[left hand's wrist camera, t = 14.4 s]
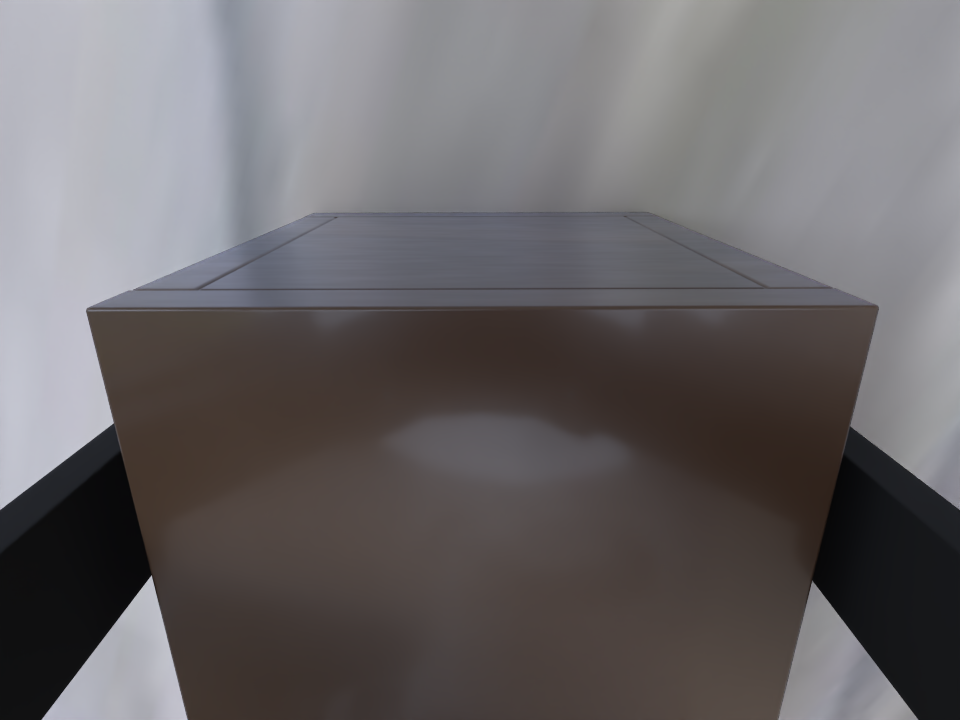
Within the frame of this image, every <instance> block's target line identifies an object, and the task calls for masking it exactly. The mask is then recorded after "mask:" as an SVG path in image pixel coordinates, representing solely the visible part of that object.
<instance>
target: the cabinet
mask: <svg viewBox="0 0 960 720" xmlns="http://www.w3.org/2000/svg"><path fill="white" fill-rule="evenodd" d="M878 310H879V308H878V306H877V305H875V304H872V303H870V302H867V301H865V300H862V299H860V298H858V297H855V296H853V295H850V294H848V293H845V292H843V291H840V290H838V289H833V288H832V287H829V286H827V285H825V284H822V283H820V282H817V281H815V280H812V279H810V278H807V277H805V276H803V275H800V274H798V273H795V272H793V271H790V270H788V269H785V268H783V267H781V266H778V265H776V264H773V263H771V262H768V261H766V260H763V259H761V258H759V257H756V256H754V255H751V254H749V253H746V252H744V251H741V250H739V249H737V248H734V247H732V246H729V245H727V244H724V243H722V242H719V241H717V240H715V239H712V238H710V237H707V236H705V235H702V234H700V233H697V232H695V231H693V230H690V229H688V228H685V227H683V226H680V225H678V224H675V223H673V222H671V221H668V220H666V219H663V218H661V217H658V216H656V215H654V214H651V213H649V212H566V213H313V214H311V215H308V216H306V217H304V218H302V219H300V220H297V221H295V222H293V223H290V224H288V225H285V226H283V227H281V228H278V229H276V230H274V231H271V232H269V233H267V234H264V235H262V236H259V237H257V238H255V239H252V240H250V241H248V242H245V243H243V244H241V245H238V246H236V247H233V248H231V249H229V250H226V251H224V252H222V253H219V254H217V255H214V256H212V257H210V258H207V259H205V260H203V261H200V262H198V263H196V264H193V265H191V266H188V267H186V268H184V269H181V270H179V271H177V272H174V273H172V274H170V275H167V276H165V277H162V278H160V279H158V280H155V281H153V282H151V283H148V284H146V285H144V286H141V287H139V288H136V289H134V290H133V291H127V292H124V293H122V294H120V295H117V296H115V297H112V298H110V299H108V300H105V301H103V302H100V303H98V304H96V305H93V306H91V307H89V308H87V310H86V312H87V316H88V320H89V324H90V328H91V332H92V336H93V340H94V344H95V349H96V353H97V357H98V361H99V365H100V369H101V373H102V377H103V381H104V385H105V389H106V393H107V397H108V401H109V405H110V409H111V413H112V417H113V421H114V425H115V429H116V433H117V437H118V441H119V445H120V449H121V453H122V457H123V461H124V465H125V469H126V473H127V477H128V481H129V485H130V489H131V493H132V497H133V501H134V505H135V510H136V514H137V518H138V522H139V526H140V530H141V534H142V538H143V542H144V546H145V550H146V554H147V558H148V562H149V566H150V570H151V574H152V578H153V582H154V586H155V590H156V594H157V598H158V602H159V606H160V610H161V614H162V618H163V622H164V626H165V630H166V634H167V638H168V642H169V646H170V650H171V654H172V658H173V662H174V667H175V671H176V675H177V679H178V683H179V687H180V691H181V695H182V699H183V703H184V707H185V711H186V715H187V719H188V720H778V718H779V713H780V709H781V705H782V701H783V697H784V693H785V689H786V685H787V681H788V677H789V673H790V669H791V665H792V661H793V656H794V652H795V648H796V644H797V640H798V636H799V632H800V628H801V624H802V620H803V616H804V612H805V608H806V603H807V599H808V595H809V591H810V587H811V583H812V579H813V575H814V571H815V567H816V563H817V559H818V555H819V550H820V546H821V542H822V538H823V534H824V530H825V526H826V522H827V518H828V514H829V510H830V506H831V502H832V498H833V493H834V489H835V485H836V481H837V477H838V473H839V469H840V465H841V461H842V457H843V453H844V449H845V445H846V440H847V436H848V432H849V428H850V424H851V420H852V416H853V412H854V408H855V404H856V400H857V396H858V392H859V388H860V383H861V379H862V375H863V371H864V367H865V363H866V359H867V355H868V351H869V347H870V343H871V339H872V335H873V330H874V326H875V322H876V318H877V314H878Z"/></svg>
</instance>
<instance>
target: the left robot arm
mask: <svg viewBox="0 0 960 720" xmlns="http://www.w3.org/2000/svg"><path fill="white" fill-rule="evenodd" d="M151 575H152V574H151V570H150V566H149V562H148V558H147V554H146V550H145V546H144V542H143V538H142V534H141V530H140V526H139V522H138V518H137V514H136V510H135V505H134V501H133V497H132V493H131V489H130V485H129V481H128V477H127V473H126V469H125V465H124V461H123V457H122V453H121V449H120V445H119V441H118V437H117V433H116V429H115V425H114V424H112V425H111V426H110V427H109V428H107V429H106V430H105V431H103V432H102V433H101V434H99V435H98V436H97V437H95V438H94V439H93V440H92V441H90V442H89V443H88V444H86V445H85V446H84V447H82V448H81V449H80V450H78V451H77V452H76V453H74V454H73V455H72V456H71V457H69V458H68V459H67V460H65V461H64V462H63V463H61V464H60V465H59V466H57V467H56V468H55V469H53V470H52V471H51V472H50V473H48V474H47V475H46V476H44V477H43V478H42V479H40V480H39V481H38V482H36V483H35V484H34V485H33V486H31V487H30V488H29V489H27V490H26V491H25V492H23V493H22V494H21V495H19V496H18V497H17V498H15V499H14V500H13V501H12V502H10V503H9V504H8V505H6V506H5V507H4V508H2V509H1V510H0V720H42V718H43V717H44V716H45V714H46V713H47V712H48V710H49V709H50V708H51V706H52V705H53V704H54V703H55V701H56V700H57V699H58V697H59V696H60V695H61V693H62V692H63V691H64V689H65V688H66V687H67V685H68V684H69V683H70V682H71V680H72V679H73V678H74V676H75V675H76V674H77V672H78V671H79V670H80V668H81V667H82V666H83V664H84V663H85V662H86V661H87V659H88V658H89V657H90V655H91V654H92V653H93V651H94V650H95V649H96V647H97V646H98V645H99V643H100V642H101V641H102V640H103V638H104V637H105V636H106V634H107V633H108V632H109V630H110V629H111V628H112V626H113V625H114V624H115V622H116V621H117V620H118V619H119V617H120V616H121V615H122V613H123V612H124V611H125V609H126V608H127V607H128V605H129V604H130V603H131V601H132V600H133V599H134V598H135V596H136V595H137V594H138V592H139V591H140V590H141V588H142V587H143V586H144V584H145V583H146V582H147V580H148V579H149V578H150V577H151ZM812 580H813V582H814V583H815V584H816V586H817V587H818V588H819V590H820V591H821V592H822V594H823V595H824V596H825V598H826V599H827V600H828V601H829V603H830V604H831V605H832V607H833V608H834V609H835V611H836V612H837V613H838V615H839V616H840V617H841V619H842V620H843V621H844V622H845V624H846V625H847V626H848V628H849V629H850V630H851V632H852V633H853V634H854V636H855V637H856V638H857V640H858V641H859V642H860V643H861V645H862V646H863V647H864V649H865V650H866V651H867V653H868V654H869V655H870V657H871V658H872V659H873V661H874V662H875V663H876V664H877V666H878V667H879V668H880V670H881V671H882V672H883V674H884V675H885V676H886V678H887V679H888V680H889V682H890V683H891V684H892V685H893V687H894V688H895V689H896V691H897V692H898V693H899V695H900V696H901V697H902V699H903V700H904V701H905V703H906V704H907V705H908V706H909V708H910V709H911V710H912V712H913V713H914V714H915V716H916V717H917V718H918V720H960V510H959V509H958V508H956V507H955V506H954V505H952V504H951V503H950V502H948V501H947V500H946V499H945V498H943V497H942V496H941V495H939V494H938V493H937V492H935V491H934V490H933V489H931V488H930V487H929V486H927V485H926V484H925V483H924V482H922V481H921V480H920V479H918V478H917V477H916V476H914V475H913V474H912V473H910V472H909V471H908V470H906V469H905V468H904V467H903V466H901V465H900V464H899V463H897V462H896V461H895V460H893V459H892V458H891V457H889V456H888V455H887V454H886V453H884V452H883V451H882V450H880V449H879V448H878V447H876V446H875V445H874V444H872V443H871V442H870V441H868V440H867V439H866V438H865V437H863V436H862V435H861V434H859V433H858V432H857V431H855V430H854V429H853V428H851V427H850V428H849V432H848V436H847V440H846V445H845V449H844V453H843V457H842V461H841V465H840V469H839V473H838V477H837V481H836V485H835V489H834V493H833V498H832V502H831V506H830V510H829V514H828V518H827V522H826V526H825V530H824V534H823V538H822V542H821V546H820V550H819V555H818V559H817V563H816V567H815V571H814V575H813V579H812Z"/></svg>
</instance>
